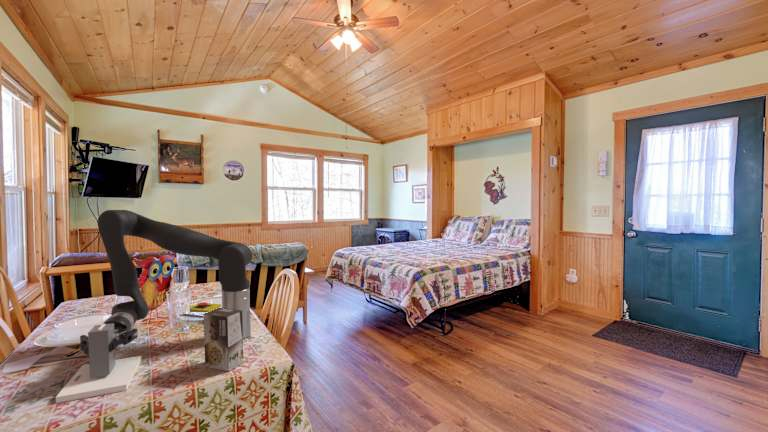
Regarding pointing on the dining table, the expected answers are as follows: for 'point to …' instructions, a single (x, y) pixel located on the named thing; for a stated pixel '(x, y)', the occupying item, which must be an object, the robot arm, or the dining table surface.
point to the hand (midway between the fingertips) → (99, 349)
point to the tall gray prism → (101, 350)
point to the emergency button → (204, 307)
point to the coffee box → (223, 338)
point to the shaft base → (99, 381)
